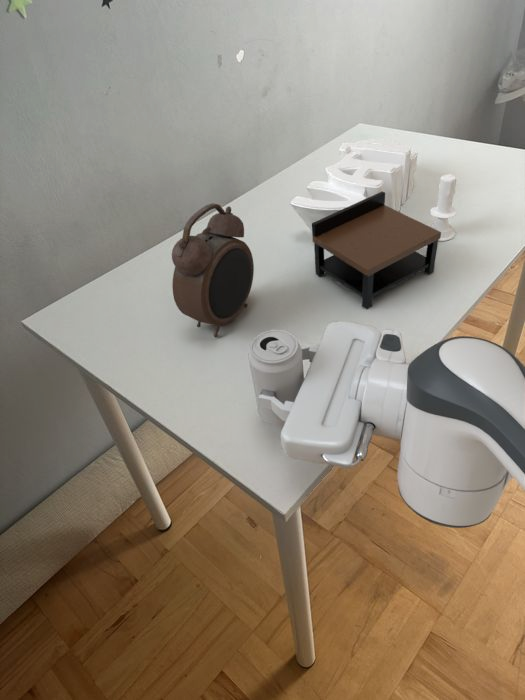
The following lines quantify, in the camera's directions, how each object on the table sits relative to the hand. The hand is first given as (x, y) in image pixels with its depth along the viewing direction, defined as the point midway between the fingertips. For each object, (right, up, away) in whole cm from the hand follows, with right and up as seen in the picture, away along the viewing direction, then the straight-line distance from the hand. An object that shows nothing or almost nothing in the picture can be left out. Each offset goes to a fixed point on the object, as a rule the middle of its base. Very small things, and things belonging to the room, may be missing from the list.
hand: (271, 374), depth 63 cm
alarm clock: (-7, +8, +23) cm, 25 cm away
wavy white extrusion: (+20, +33, +45) cm, 59 cm away
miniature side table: (+19, +17, +27) cm, 37 cm away
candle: (+33, +25, +34) cm, 54 cm away
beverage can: (+2, -5, +4) cm, 7 cm away
